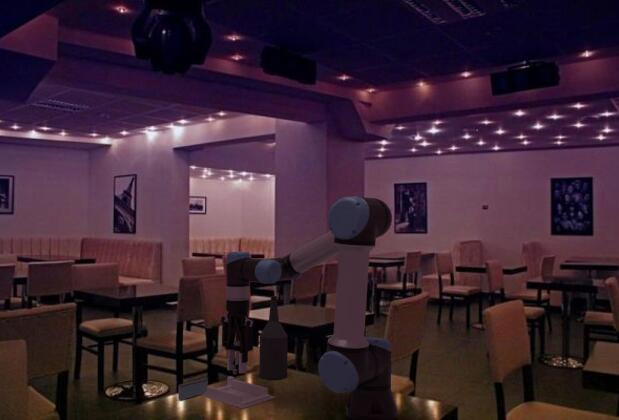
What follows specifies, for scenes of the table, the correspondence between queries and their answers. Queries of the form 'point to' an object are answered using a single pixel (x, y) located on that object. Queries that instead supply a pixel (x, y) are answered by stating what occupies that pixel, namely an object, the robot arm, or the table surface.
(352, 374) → the robot arm
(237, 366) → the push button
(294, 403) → the table surface
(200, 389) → the dark slender plank
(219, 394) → the tray
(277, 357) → the bottle
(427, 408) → the table surface
